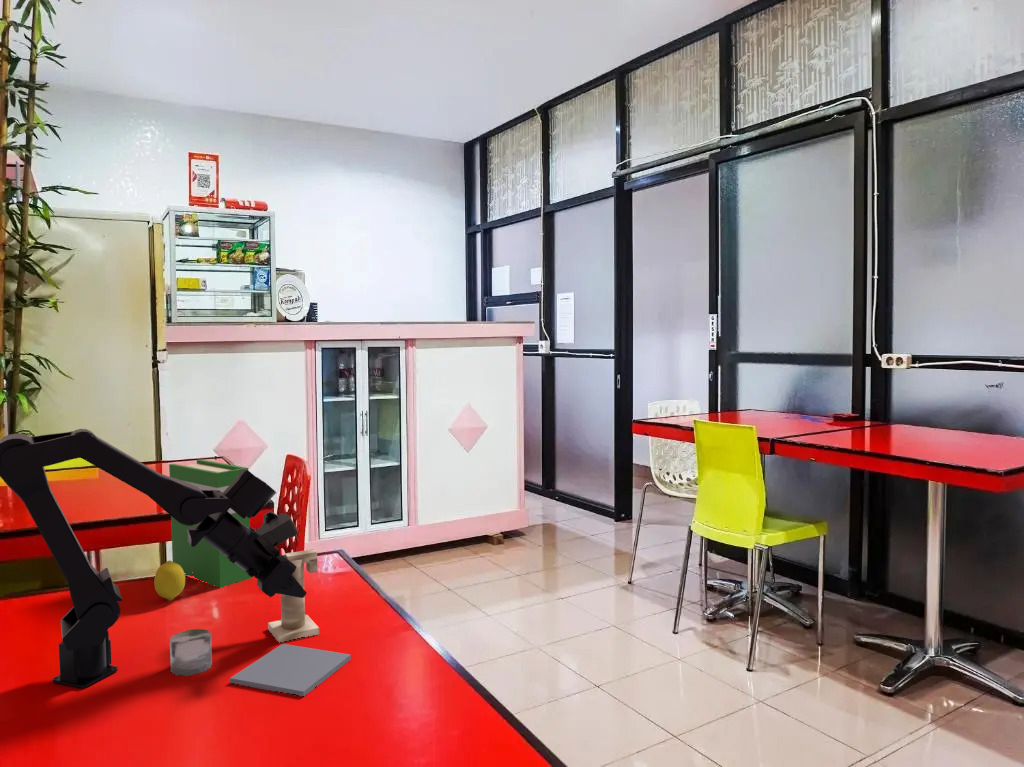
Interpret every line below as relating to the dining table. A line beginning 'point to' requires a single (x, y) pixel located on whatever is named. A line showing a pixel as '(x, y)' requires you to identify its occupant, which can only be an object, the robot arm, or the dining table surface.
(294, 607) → the beige stacked pedestal
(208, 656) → the steel tin
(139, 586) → the dining table surface
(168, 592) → the lemon
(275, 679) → the mat
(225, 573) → the hardback book
